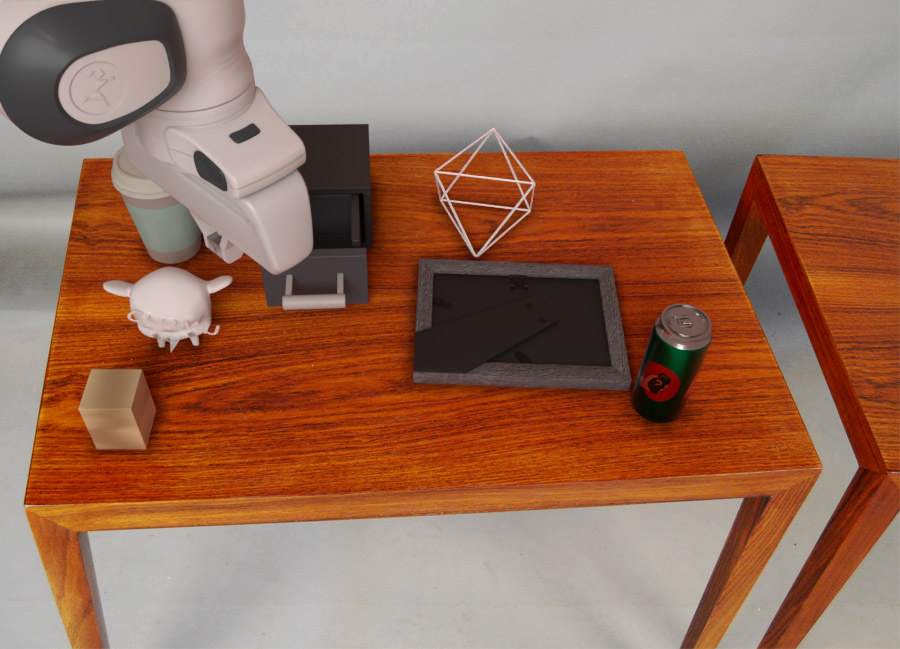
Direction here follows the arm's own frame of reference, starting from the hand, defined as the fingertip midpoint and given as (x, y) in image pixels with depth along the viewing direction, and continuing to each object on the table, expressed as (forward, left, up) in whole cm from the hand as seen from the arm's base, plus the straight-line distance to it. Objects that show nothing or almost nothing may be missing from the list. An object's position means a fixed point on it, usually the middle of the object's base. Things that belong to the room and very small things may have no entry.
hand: (225, 252), depth 73 cm
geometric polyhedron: (+32, -4, -15) cm, 36 cm away
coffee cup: (+6, +19, -15) cm, 25 cm away
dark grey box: (+21, +11, -15) cm, 27 cm away
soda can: (+22, -33, -15) cm, 42 cm away
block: (-12, +2, -15) cm, 20 cm away
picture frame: (+22, -17, -15) cm, 31 cm away
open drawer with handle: (+12, +2, -14) cm, 19 cm away
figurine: (-2, +8, -15) cm, 17 cm away
